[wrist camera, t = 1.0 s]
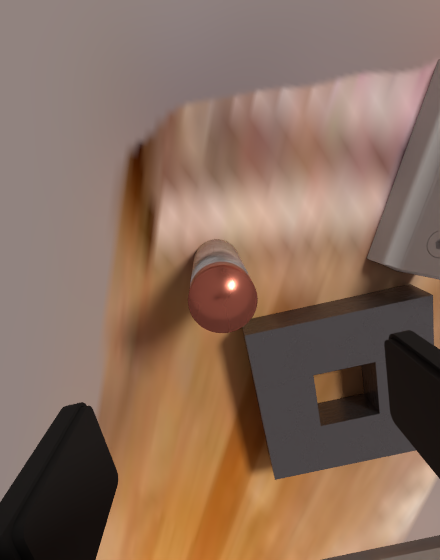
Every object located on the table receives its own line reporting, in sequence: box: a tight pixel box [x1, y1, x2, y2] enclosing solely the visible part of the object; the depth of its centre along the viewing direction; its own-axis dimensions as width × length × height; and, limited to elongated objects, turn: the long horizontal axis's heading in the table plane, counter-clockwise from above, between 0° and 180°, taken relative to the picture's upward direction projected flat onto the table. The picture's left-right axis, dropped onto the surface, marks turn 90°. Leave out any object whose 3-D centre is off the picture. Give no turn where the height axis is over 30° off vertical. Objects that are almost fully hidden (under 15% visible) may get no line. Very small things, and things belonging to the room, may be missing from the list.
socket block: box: [242, 284, 434, 480], centre depth 30 cm, size 16×16×3 cm
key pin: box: [188, 239, 257, 333], centre depth 23 cm, size 4×4×10 cm
